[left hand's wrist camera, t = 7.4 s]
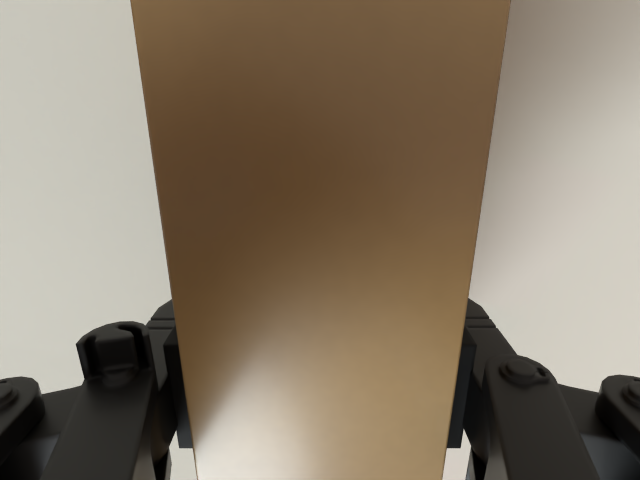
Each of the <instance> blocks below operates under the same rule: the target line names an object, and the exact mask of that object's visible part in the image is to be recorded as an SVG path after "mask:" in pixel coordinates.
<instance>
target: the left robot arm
mask: <svg viewBox="0 0 640 480" xmlns="http://www.w3.org/2000/svg"><path fill="white" fill-rule="evenodd" d="M76 347H77V351H78V355H79V359H80V363H81V367H82V371H83V375H84V382H83V384H82V385H81V386H78V387H74V388H70V389H65V390H60V391H56V392H51V393H46V394H41V391H40V388H39V384H38V383H37V382H36V381H35V380H34V379H32V378H27V377H13V378H6V379H1V380H0V480H170V474H171V465H172V463H171V456H170V450H169V446H170V443H171V441H172V438H173V436H174V434H175V431H177V437H178V443H179V448H193V445H192V438H191V431H190V424H189V417H188V409H187V402H186V395H185V388H184V381H183V374H182V366H181V359H180V352H179V345H178V338H177V331H176V323H175V316H174V309H173V302H172V299H171V300H170V301H168V302H167V303H165V304H164V305H162V306H161V307H159V308H158V309H157V311H156V312H155V313H154V315H153V316H152V318H151V321H149V322H148V323H147V324H146V326H145V325H144V324H142V323H138V322H134V321H125V322H116V323H111V324H107V325H104V326H101V327H99V328H96V329H94V330H92V331H90V332H89V333H87V334H86V335H84V336H83V337H82V338H81V339H80V340H79V341H78V342H77V343H76ZM463 429H464V430H465V432H466V435H467V437H468V439H469V442H470V444H471V450H470V456H469V462H468V468H467V474H466V479H465V480H640V378H638V377H634V376H626V375H614V376H608V377H607V378H606V379H604V380H603V381H602V383H601V387H600V390H599V393H598V392H593V391H588V390H583V389H578V388H574V387H569V386H565V385H561V384H558V383H557V381H556V379H555V377H554V376H553V375H552V373H551V372H550V371H549V370H548V369H547V368H545V367H544V366H543V365H541V364H540V363H538V362H536V361H534V360H531V359H529V358H527V357H523V356H519V355H517V354H516V352H515V351H514V350H513V348H512V347H511V346H510V344H509V343H508V342H507V340H506V339H505V338H504V336H503V335H502V334H501V332H500V331H499V330H498V328H496V326H495V324H494V323H493V322H492V320H491V319H489V316H488V315H487V313H486V312H485V311H484V309H483V308H482V307H481V306H480V305H478V304H477V303H475V302H474V301H472V300H471V299H469V298H468V302H467V309H466V316H465V323H464V330H463V337H462V344H461V351H460V358H459V365H458V372H457V379H456V386H455V393H454V400H453V407H452V414H451V421H450V428H449V435H448V442H447V448H461V442H462V435H463Z"/></svg>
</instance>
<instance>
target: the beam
mask: <svg viewBox="0 0 640 480" xmlns="http://www.w3.org/2000/svg"><path fill="white" fill-rule="evenodd" d="M130 1H131V8H132V15H133V23H134V30H135V37H136V44H137V51H138V58H139V66H140V73H141V80H142V87H143V94H144V101H145V109H146V116H147V123H148V130H149V137H150V144H151V152H152V159H153V166H154V173H155V180H156V187H157V195H158V202H159V209H160V216H161V223H162V230H163V238H164V245H165V252H166V259H167V266H168V273H169V281H170V288H171V295H172V302H173V309H174V316H175V323H176V331H177V338H178V345H179V352H180V359H181V366H182V374H183V381H184V388H185V395H186V402H187V409H188V417H189V424H190V431H191V438H192V445H193V452H194V460H195V467H196V474H197V480H442V477H443V470H444V463H445V456H446V449H447V442H448V435H449V428H450V421H451V414H452V407H453V400H454V393H455V386H456V379H457V372H458V365H459V358H460V351H461V344H462V337H463V330H464V323H465V316H466V309H467V302H468V295H469V288H470V281H471V274H472V267H473V261H474V254H475V247H476V240H477V233H478V226H479V219H480V212H481V205H482V198H483V191H484V184H485V177H486V170H487V163H488V156H489V149H490V142H491V135H492V128H493V121H494V114H495V107H496V100H497V93H498V86H499V79H500V72H501V65H502V58H503V51H504V44H505V37H506V30H507V23H508V16H509V9H510V2H511V0H130Z"/></svg>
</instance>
